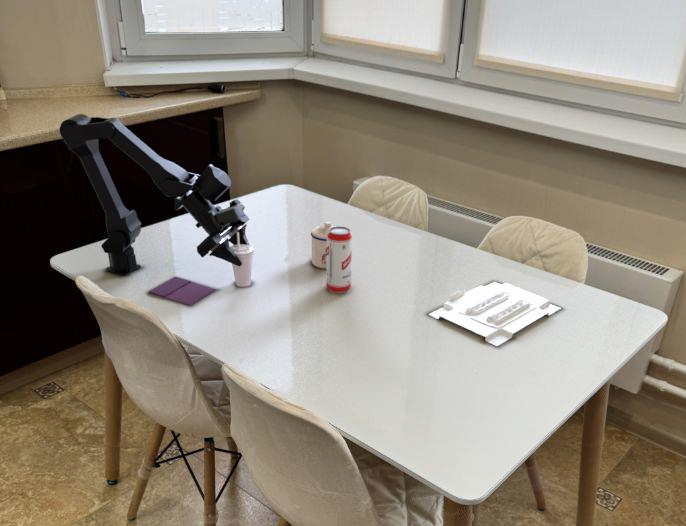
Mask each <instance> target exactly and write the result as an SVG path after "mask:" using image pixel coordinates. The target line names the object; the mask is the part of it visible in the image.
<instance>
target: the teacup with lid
mask: <svg viewBox="0 0 686 526" xmlns="http://www.w3.org/2000/svg"><path fill="white" fill-rule="evenodd" d="M332 227H336V226H335V225H333V224H332V222H331V221H325V222H324V223H323V224H322V225H318V226H316V227H314V228H312V230H311V232H310V236H311V263H312V265H313V266H315V267H317V268H320V269H325V270H327V235H328V234H329V232H330V231H329V230H330V228H332Z"/></svg>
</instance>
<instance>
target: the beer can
mask: <svg viewBox="0 0 686 526" xmlns="http://www.w3.org/2000/svg"><path fill="white" fill-rule="evenodd" d="M329 231H330V232H329V234H328V235H327V269H326V271H325V272H326V277H325V279H326V280H325V281H326V283H325V285H326V288H327V290H328V291H329V292H331V293H333V294H345V293H347V292H348V291H349V290H350V289H351V286H352V260H353V259H352V258H353V255H352V254H353V235H352V234H351V229H350V228H348V227H345V226H340V225H339V226H335V227H332V228H330V230H329Z"/></svg>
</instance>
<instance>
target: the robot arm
mask: <svg viewBox="0 0 686 526" xmlns="http://www.w3.org/2000/svg"><path fill="white" fill-rule="evenodd" d="M122 123H123V122H122V121H121V120H120V119H118V118H116V117H100V116H88V115H86V114H83V113H78V114H75V115H74V116H71V117H69V118H67V119H65V120H63V121H62V122H61V124H60V126H59V128H58V130H59V135H60V137H61V138H62V140H63V141H64V143H65V145H66V146H67V148H68V149H69V150H70V151H71V152H72V153H73V154H75V156H77V157H78V158H79V159H80V162H81V164H82V166H83V168H84V171H85V173H86V175H87V177H88V179H89V181H90V183H91V185H92V188H93V189H94V192H95V193H96V196H97V198H98V200H99V202H100V204H101V207H102V209H103V211H104V213H105V227H106V231H107V235H108V238H107V239H105V240H104V242H103V243H102V244H101V245H100V246H101V249H102V250H103V252H104V253H105V254H107V256H108V262H109V266H108V267H106V268H105V271H106V272H110V273H113V274H117V275H119V276H123V277H124V276H128V274H130V273H133V272H134V271H137V270H139V269H141V267H142V266H141V264H137V257H136V254H135V250H134V249H135V248H134V247H133V246H132V245H133V244H134V243H135V242H136V240H137V238H138V237H139V236H140V234H141V231H142V229H141V228H142V227H141V225H142V222H141V221H140V220H139V218H138V215H137V211H136V210H135V209H132V210H129V209H128V208H127V207H126V206H125V205H124V203H123V201H122V199H121V197H120V195H119V193H118V190H117V188H116V186H115V184H114V181H113V179H112V177H111V174H110V172H109V171H108V168H107V166H106V164H105V161H104V159H103V158H102V155H101V152H100V149H99V148H100V146H99V140H102V139H108V140H109V141H110V142H111V143H113V144H114V145H115V146H116V147H117V148H119V149H120V150H121V151H122V152H124V153H125V155H126V156H128V157H129V158H131V160H133V161H134V162H135V163H136V164H137V165H139V166H140V167H142V169H144V171H146V172H147V173H148V174H149V176H150V177H151V179H152V181H153V183H154V185H155V186H156V187H157V188H158V190H160V191H161V193H163V194H164V195H165V196H166V197H168V198H174V210H175V211H178V210H179V209H181V208H184V209H185V210H186V211H187V212H188V213H189V215H190V216H191V217H192V218H193V219H194V220H195V222H197V223H195V227H196V228H197V229H199V228H200V227H201V228H202V229H203V230H204V231H205V233H206V234H207V235H208V236H206V237H205V238H204V240H202V241H201V242H200V243H199V244H198V245H197V246H196V252H197V254H198V255H199V256H200V257H201V258H205V256H207V255H208V256H210V257H212V256H213V257H215V258H218V259H220V260H223V261H226V262H228V263H230V264H231V265H232V264H234V265H237V266H241V265H242V262H241V261H240V259H239V258H238V257H237V255H236V254H235V253H234V252H233V250H232V249H231V248H230V247H231V246H230V243H231V244H232V246H233V245H237V232H239V241H240V244H247V245H250V244H251V243H250V242H249V240H248V238H247V234H246V230H247V229H246V228H247V226H248V225H247V223H248V221H250V218H249V216H247V214H246V213H245V211H244V210H245V208H246V206H245V205H244V204H243V202H241V201H240V200H239V199H238V198H235V199H232V201H230V202H229V206H227V207H226V208H224V209H223V208H222V207H221V206H220V205H216V206H214V204H213V203H212V202H211V201H217V200H218V199H219V198H220V197H221V196H222V195H223V194H224V193H225V192H226V191H227V190H228V189H229V188H230V187H231V186H232V180H231V178H230V177H229V175H228V173H226V172H225V171H224V170H222V169H220V168H218V167H215V166H214V165H213V164H212V163H210V164H209V165H208V166H207V167H206V168H205V169H204V170H203V172H202V173H201V174H197V173H193V172H188V171H187V170H186V169H184V168H183V167H181V166H179V165H178V164H176V163H175V162H173V161H170V160H168V159H165V158H163V157H162V156H160V155H159V154H157V152H155V151H154V150H153V149H152V148H151V147H149V146H148V145H147V144H146V143H144V141H142V139H140V138H139V137H137V135H135V134H134V133H133V132H132V131H131V130H130V129H128V128H127V127H126V126H125V125H124V124H122ZM194 187H195V188H194ZM193 188H194V189H193ZM192 189H193V190H192ZM182 194H183V195H182ZM180 195H182V196H180ZM227 236H229V238H228V237H227ZM226 237H227V238H226ZM224 238H226V239H224ZM250 246H251V245H250Z"/></svg>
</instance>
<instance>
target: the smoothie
mask: <svg viewBox="0 0 686 526" xmlns="http://www.w3.org/2000/svg"><path fill="white" fill-rule="evenodd" d="M230 248H231V249H232V250H233V252H234V253H235V254H236V255H237V257H238V258H239V259H240V261H241V262H242V265H241V266H237V265H234V264H232V263H231V266H232V271H233V276H234V281H235V285H236V286H237V287H239V288H246V287H249V286H250V285H251V282H252V269H253V259H254V258H253V257H254V254H255V248H254V247H253V246H252V245H247V244H240V241H239V232H237V245H233V244H232V245H231V246H230Z"/></svg>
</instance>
